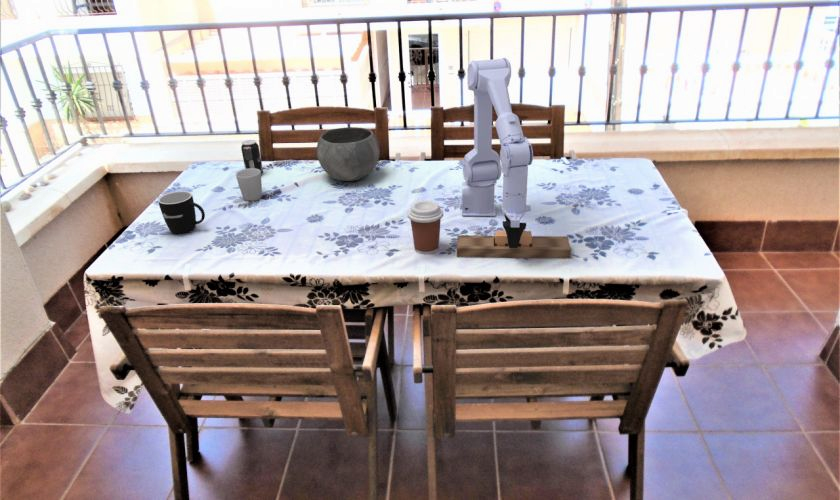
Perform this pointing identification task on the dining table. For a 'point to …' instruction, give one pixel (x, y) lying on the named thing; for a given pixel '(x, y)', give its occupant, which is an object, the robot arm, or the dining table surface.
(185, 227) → the mug
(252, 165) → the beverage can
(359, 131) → the bowl
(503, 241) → the clip
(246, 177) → the cup
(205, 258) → the dining table surface
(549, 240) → the rail
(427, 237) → the coffee cup
